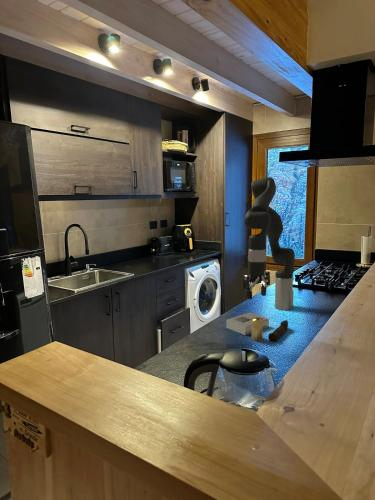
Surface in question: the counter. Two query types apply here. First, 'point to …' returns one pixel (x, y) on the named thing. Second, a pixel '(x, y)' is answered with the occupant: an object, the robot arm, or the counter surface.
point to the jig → (244, 323)
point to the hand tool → (278, 331)
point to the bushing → (257, 328)
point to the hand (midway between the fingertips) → (256, 297)
